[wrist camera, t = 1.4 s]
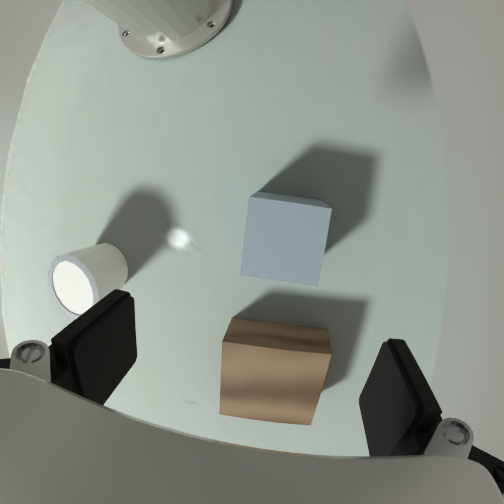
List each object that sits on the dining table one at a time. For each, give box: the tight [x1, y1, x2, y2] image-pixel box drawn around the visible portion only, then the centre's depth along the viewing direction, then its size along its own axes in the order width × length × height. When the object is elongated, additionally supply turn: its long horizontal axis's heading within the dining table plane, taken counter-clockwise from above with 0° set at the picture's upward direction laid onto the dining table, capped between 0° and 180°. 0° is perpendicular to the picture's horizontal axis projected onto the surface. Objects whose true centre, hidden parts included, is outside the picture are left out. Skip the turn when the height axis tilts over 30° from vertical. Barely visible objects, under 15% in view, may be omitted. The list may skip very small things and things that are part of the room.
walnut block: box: [220, 318, 332, 425], centre depth 30 cm, size 10×10×5 cm
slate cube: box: [241, 191, 332, 286], centre depth 25 cm, size 6×6×6 cm
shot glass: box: [48, 243, 128, 319], centre depth 28 cm, size 7×7×7 cm
